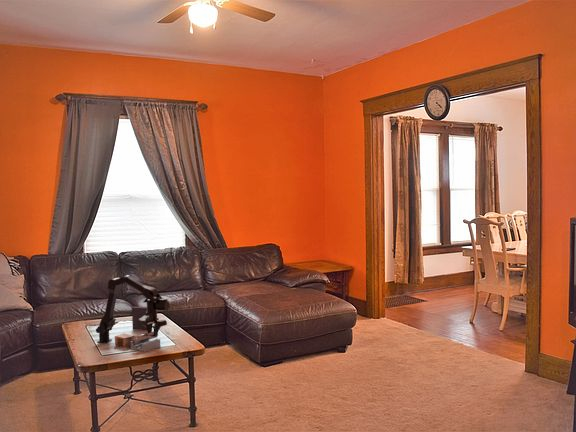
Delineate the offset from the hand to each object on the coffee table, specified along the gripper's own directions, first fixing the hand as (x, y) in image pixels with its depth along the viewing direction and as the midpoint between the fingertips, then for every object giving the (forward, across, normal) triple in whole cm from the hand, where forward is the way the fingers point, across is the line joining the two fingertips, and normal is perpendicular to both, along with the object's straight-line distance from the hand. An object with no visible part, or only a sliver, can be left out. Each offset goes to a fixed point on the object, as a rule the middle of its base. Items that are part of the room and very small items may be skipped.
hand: (152, 336), depth 315 cm
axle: (+1, 0, -6) cm, 6 cm away
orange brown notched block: (+5, -14, -9) cm, 17 cm away
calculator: (+6, -35, +22) cm, 42 cm away
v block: (+5, 0, -6) cm, 8 cm away
